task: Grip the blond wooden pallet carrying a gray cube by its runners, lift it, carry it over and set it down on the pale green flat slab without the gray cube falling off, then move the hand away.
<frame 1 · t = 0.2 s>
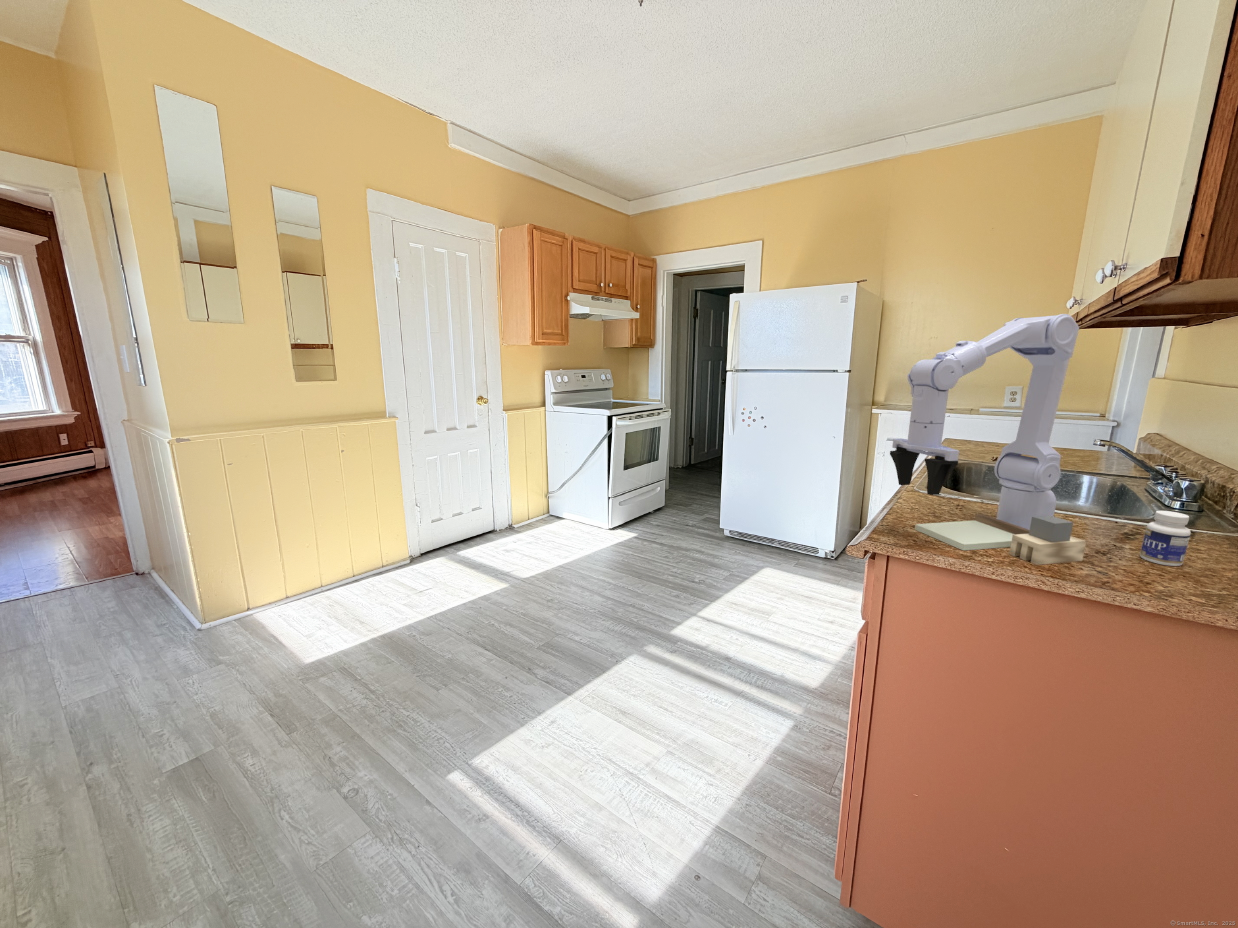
hand: (918, 489, 98), 10 cm above the countertop, tool pointing down, fingers open, 7 cm apart
pallet: (1044, 558, 89), on the countertop, touching gray cube
gray cube: (1048, 537, 89), point 4 cm above the countertop, touching pallet
pale green flat slab: (971, 536, 100), on the countertop
pill bottle: (1160, 561, 88), on the countertop
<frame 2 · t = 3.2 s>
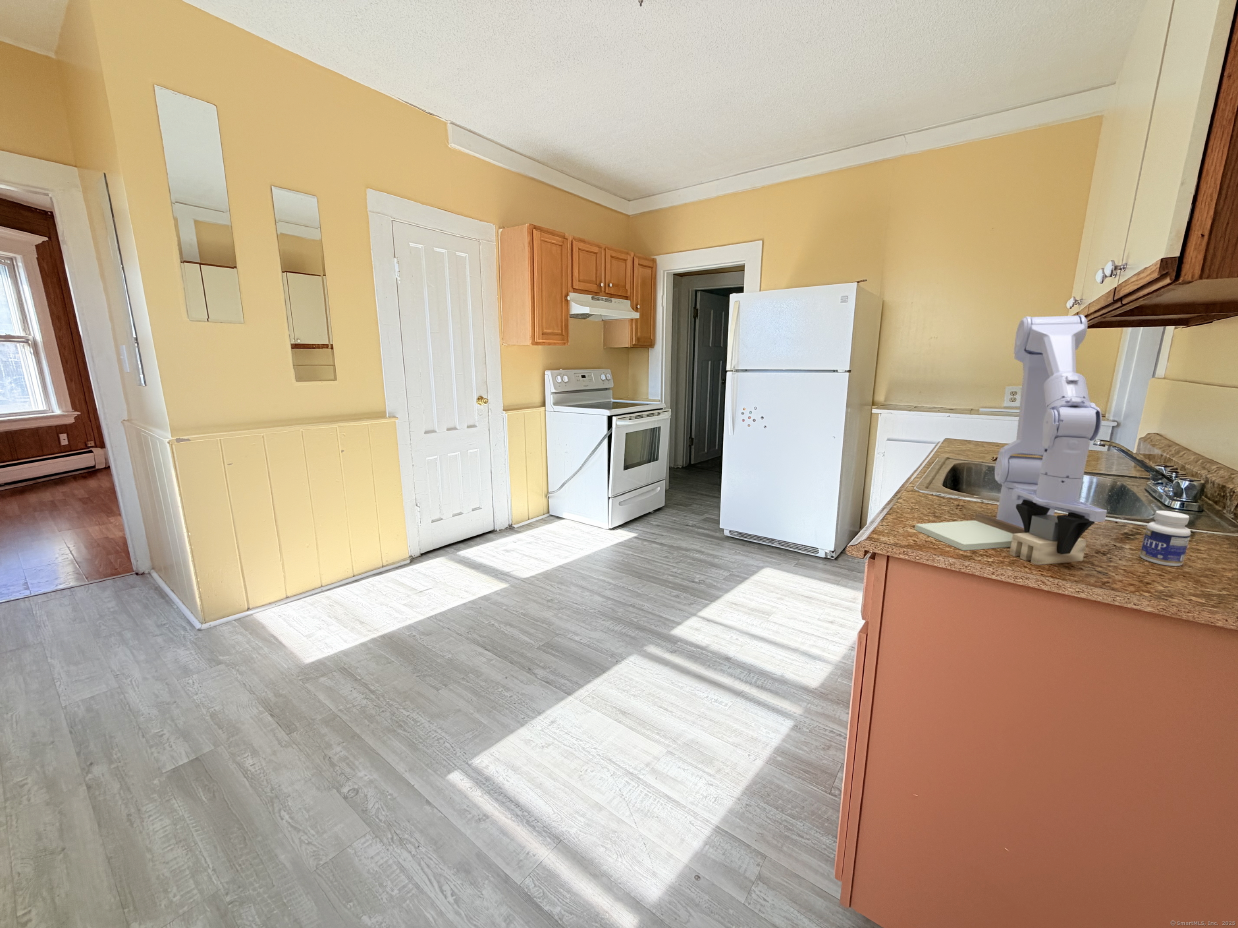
hand: (1047, 547, 89), 2 cm above the countertop, tool pointing down, fingers closed on pallet, 5 cm apart
pallet: (1045, 557, 89), on the countertop, touching gray cube, gripper
everything else where it was.
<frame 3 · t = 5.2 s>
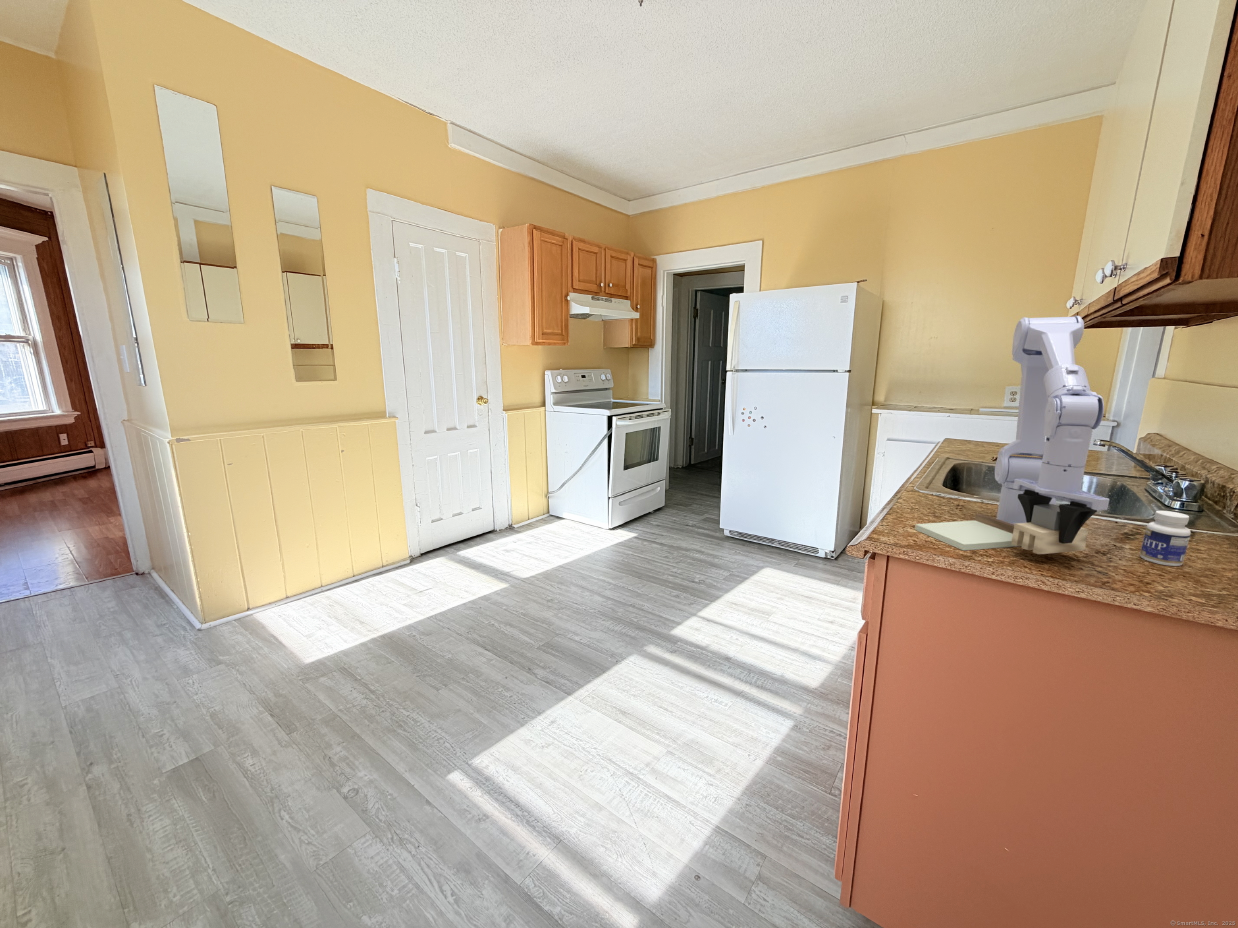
hand: (1049, 537, 89), 4 cm above the countertop, tool pointing down, fingers closed on pallet, 5 cm apart
pallet: (1047, 547, 89), point 2 cm above the countertop, touching gray cube, gripper
gray cube: (1051, 526, 88), point 6 cm above the countertop, touching pallet
everything else where it was.
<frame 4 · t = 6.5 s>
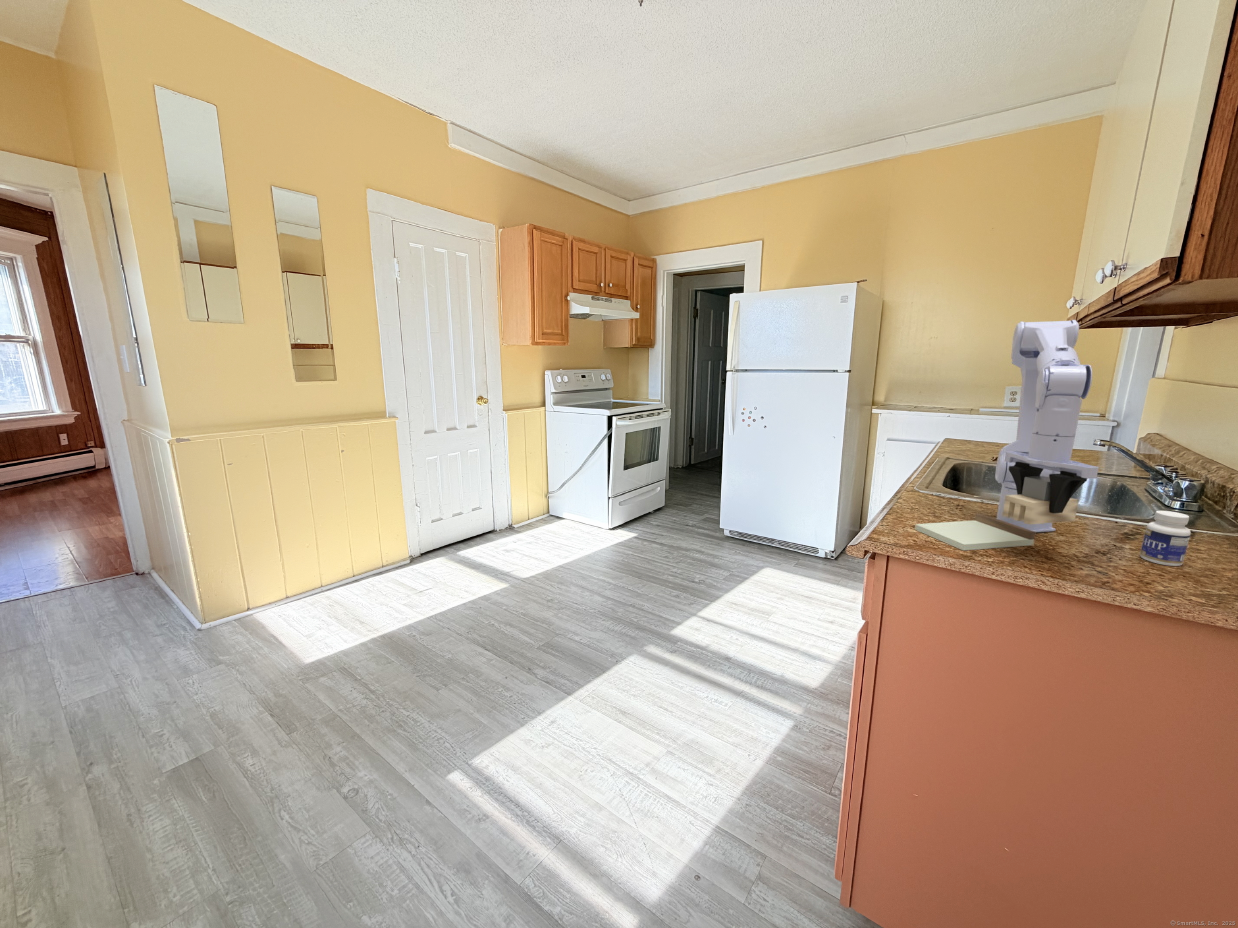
hand: (1039, 508, 89), 9 cm above the countertop, tool pointing down, fingers closed on pallet, 5 cm apart
pallet: (1037, 518, 90), point 7 cm above the countertop, touching gray cube, gripper
gray cube: (1041, 497, 89), point 11 cm above the countertop, touching pallet
everything else where it was.
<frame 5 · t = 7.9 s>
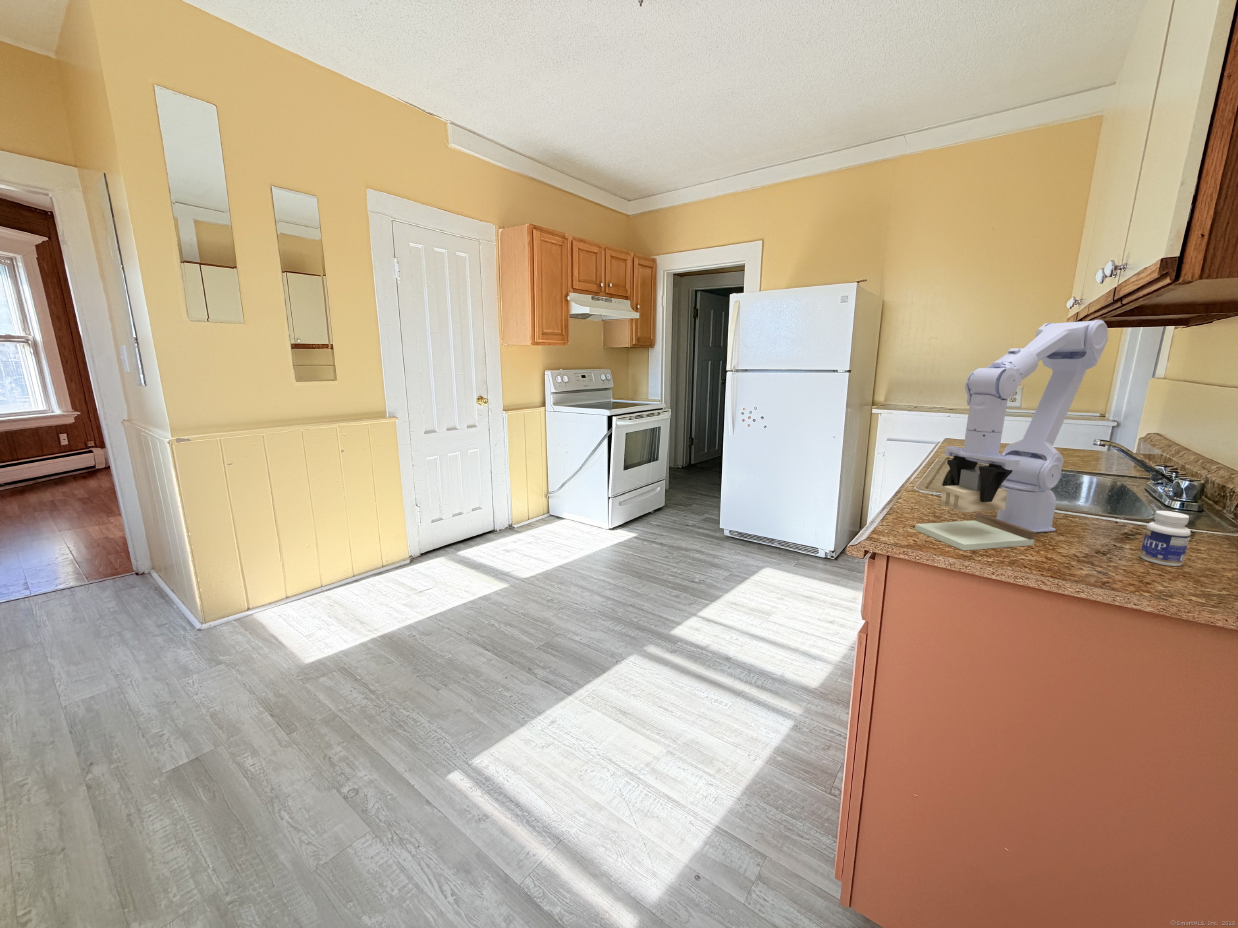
hand: (973, 497, 98), 8 cm above the countertop, tool pointing down, fingers closed on pallet, 5 cm apart
pallet: (971, 507, 98), point 6 cm above the countertop, touching gray cube, gripper
gray cube: (976, 488, 97), point 10 cm above the countertop, touching pallet
everything else where it was.
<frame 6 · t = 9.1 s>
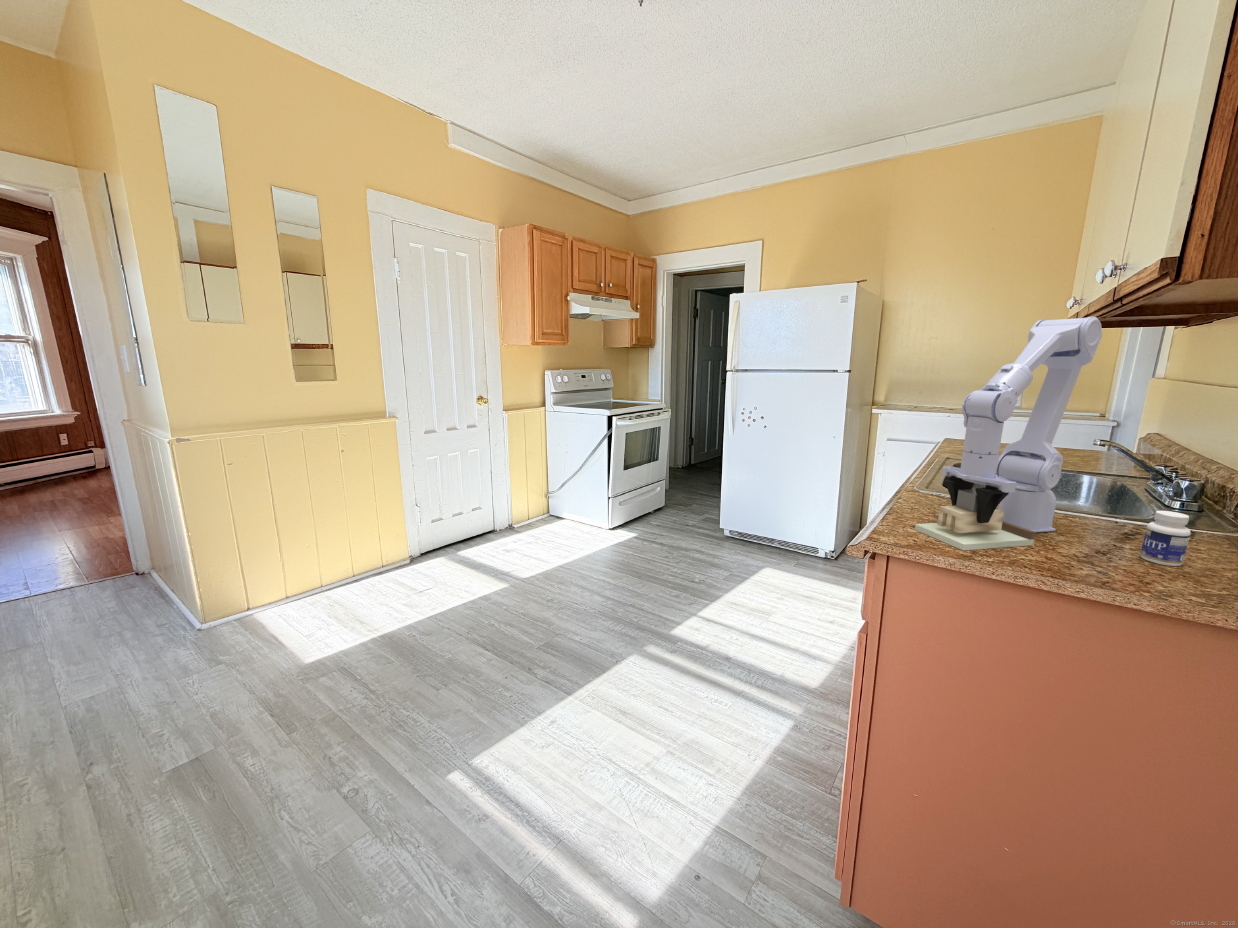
hand: (970, 518, 99), 4 cm above the countertop, tool pointing down, fingers closed on pallet, 5 cm apart
pallet: (968, 527, 99), point 2 cm above the countertop, touching gray cube, gripper
gray cube: (973, 508, 98), point 6 cm above the countertop, touching pallet
everything else where it was.
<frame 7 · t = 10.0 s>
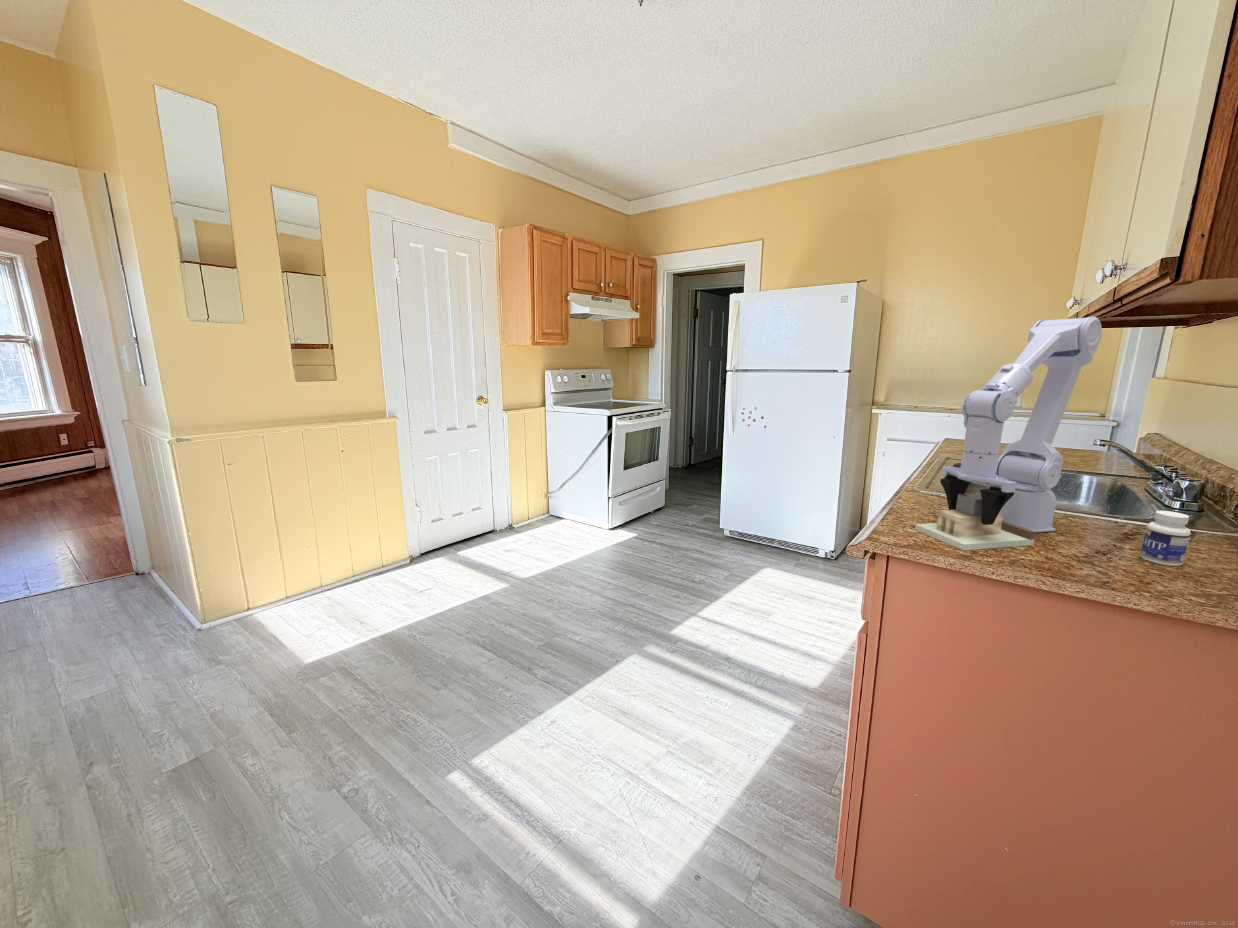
hand: (970, 518, 99), 4 cm above the countertop, tool pointing down, fingers open, 7 cm apart
pallet: (967, 531, 99), point 1 cm above the countertop, touching gray cube, pale green flat slab
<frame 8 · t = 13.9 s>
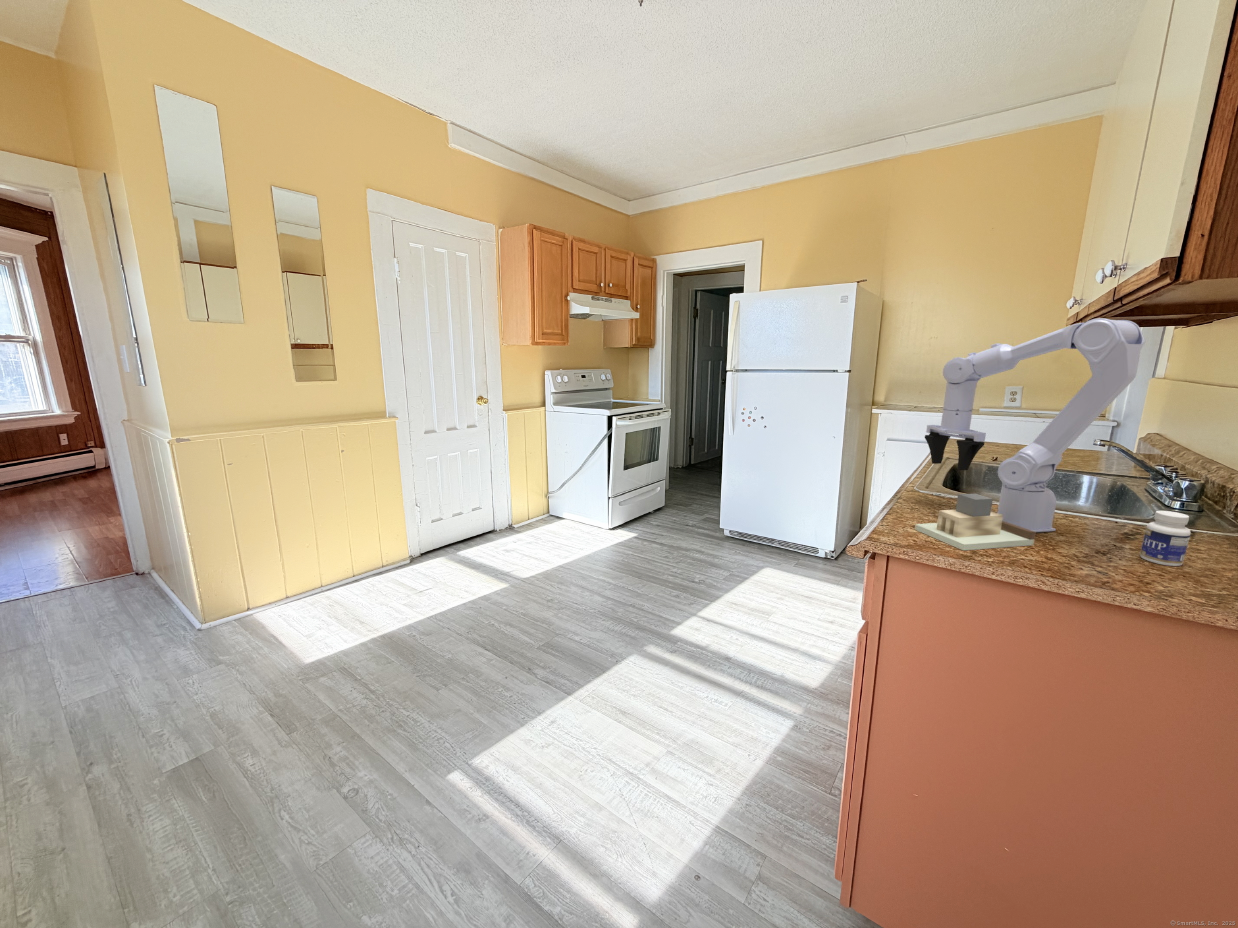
hand: (949, 466, 117), 10 cm above the countertop, tool pointing down, fingers open, 7 cm apart
nothing on the countertop moved.
at the end: pallet inside the target area on the pale green flat slab (0.1 cm from its centre), point 1.2 cm above the pale green flat slab's base; gray cube 0.4 cm off-centre on the pallet, point 4.0 cm above the pallet's base; the gripper is holding nothing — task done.
